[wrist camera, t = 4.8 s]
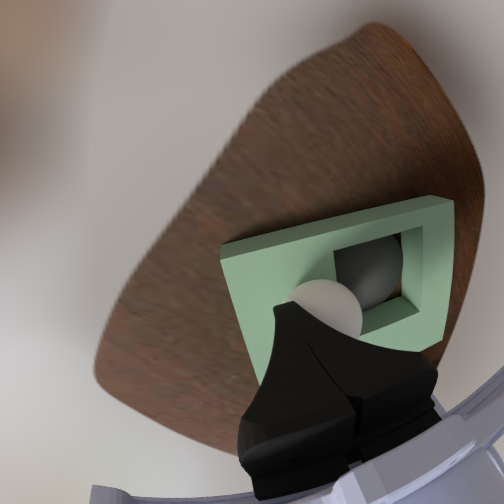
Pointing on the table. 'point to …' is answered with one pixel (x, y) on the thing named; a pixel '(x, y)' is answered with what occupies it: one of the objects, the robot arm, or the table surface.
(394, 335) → the green
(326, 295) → the ball
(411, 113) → the table surface
